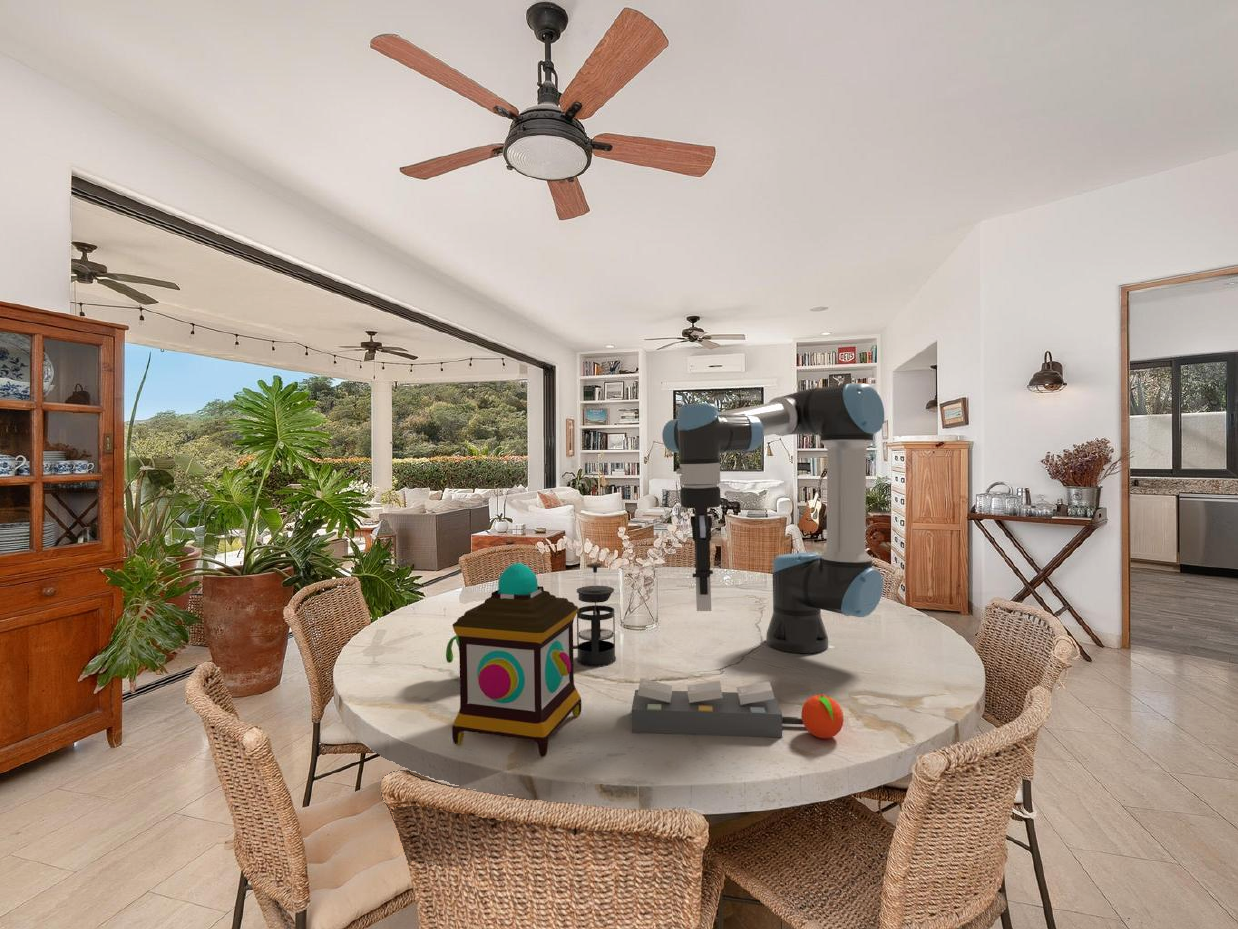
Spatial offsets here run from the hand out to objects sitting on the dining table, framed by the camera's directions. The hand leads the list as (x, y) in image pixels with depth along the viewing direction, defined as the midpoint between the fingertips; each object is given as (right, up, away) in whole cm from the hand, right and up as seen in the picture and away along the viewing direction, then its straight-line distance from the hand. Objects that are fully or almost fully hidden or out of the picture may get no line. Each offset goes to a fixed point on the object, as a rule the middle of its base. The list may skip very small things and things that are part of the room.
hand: (703, 609), depth 114 cm
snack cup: (-46, -20, +18) cm, 54 cm away
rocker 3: (+8, -14, -6) cm, 17 cm away
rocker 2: (-1, -14, -5) cm, 14 cm away
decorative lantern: (-34, -20, -6) cm, 40 cm away
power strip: (+2, -19, -5) cm, 20 cm away
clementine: (+19, -20, -11) cm, 29 cm away
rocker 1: (-10, -14, -4) cm, 17 cm away
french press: (-22, -19, +30) cm, 42 cm away
